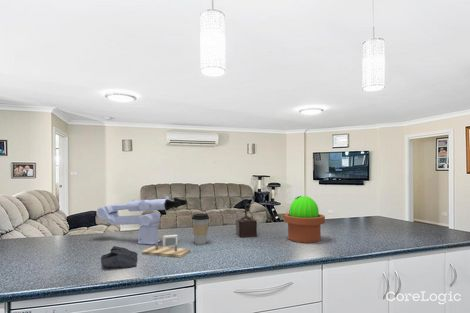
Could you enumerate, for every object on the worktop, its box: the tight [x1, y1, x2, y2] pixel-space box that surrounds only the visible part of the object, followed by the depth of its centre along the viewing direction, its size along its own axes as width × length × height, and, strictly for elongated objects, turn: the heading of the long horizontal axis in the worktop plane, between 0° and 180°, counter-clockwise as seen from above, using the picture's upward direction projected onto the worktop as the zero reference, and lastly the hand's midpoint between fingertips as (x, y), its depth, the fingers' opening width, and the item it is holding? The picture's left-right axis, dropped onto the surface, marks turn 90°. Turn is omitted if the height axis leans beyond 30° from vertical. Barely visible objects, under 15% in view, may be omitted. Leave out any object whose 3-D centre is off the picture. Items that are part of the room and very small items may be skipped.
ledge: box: [141, 242, 191, 258], centre depth 137 cm, size 20×10×4 cm, turn 74°
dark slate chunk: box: [100, 245, 138, 270], centre depth 124 cm, size 15×22×5 cm
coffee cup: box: [191, 213, 210, 245], centre depth 156 cm, size 9×9×15 cm
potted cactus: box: [283, 195, 326, 244], centre depth 164 cm, size 22×22×25 cm
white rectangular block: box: [162, 234, 179, 248], centre depth 148 cm, size 7×3×6 cm, turn 109°
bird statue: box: [235, 203, 258, 239], centre depth 177 cm, size 16×11×18 cm
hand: (183, 203), depth 152 cm, fingers open, 7 cm apart
